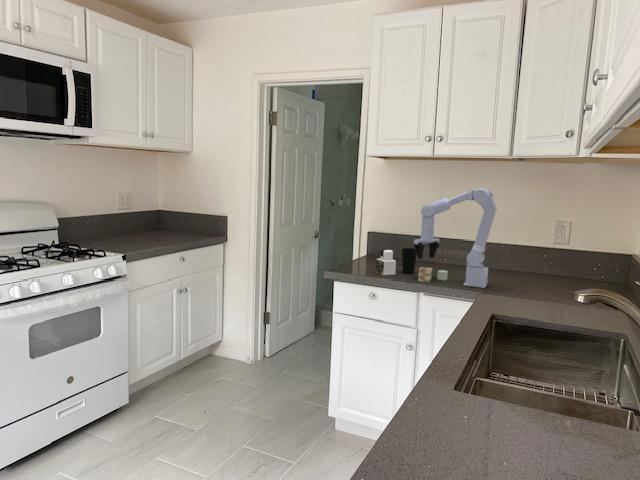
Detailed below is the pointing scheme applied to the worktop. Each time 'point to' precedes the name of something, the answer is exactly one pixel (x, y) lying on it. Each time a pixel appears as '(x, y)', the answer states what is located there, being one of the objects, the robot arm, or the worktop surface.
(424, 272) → the upper slab
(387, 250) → the medicine bottle
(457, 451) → the worktop surface
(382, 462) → the worktop surface
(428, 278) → the lower slab
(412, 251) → the cup
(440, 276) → the green cube
